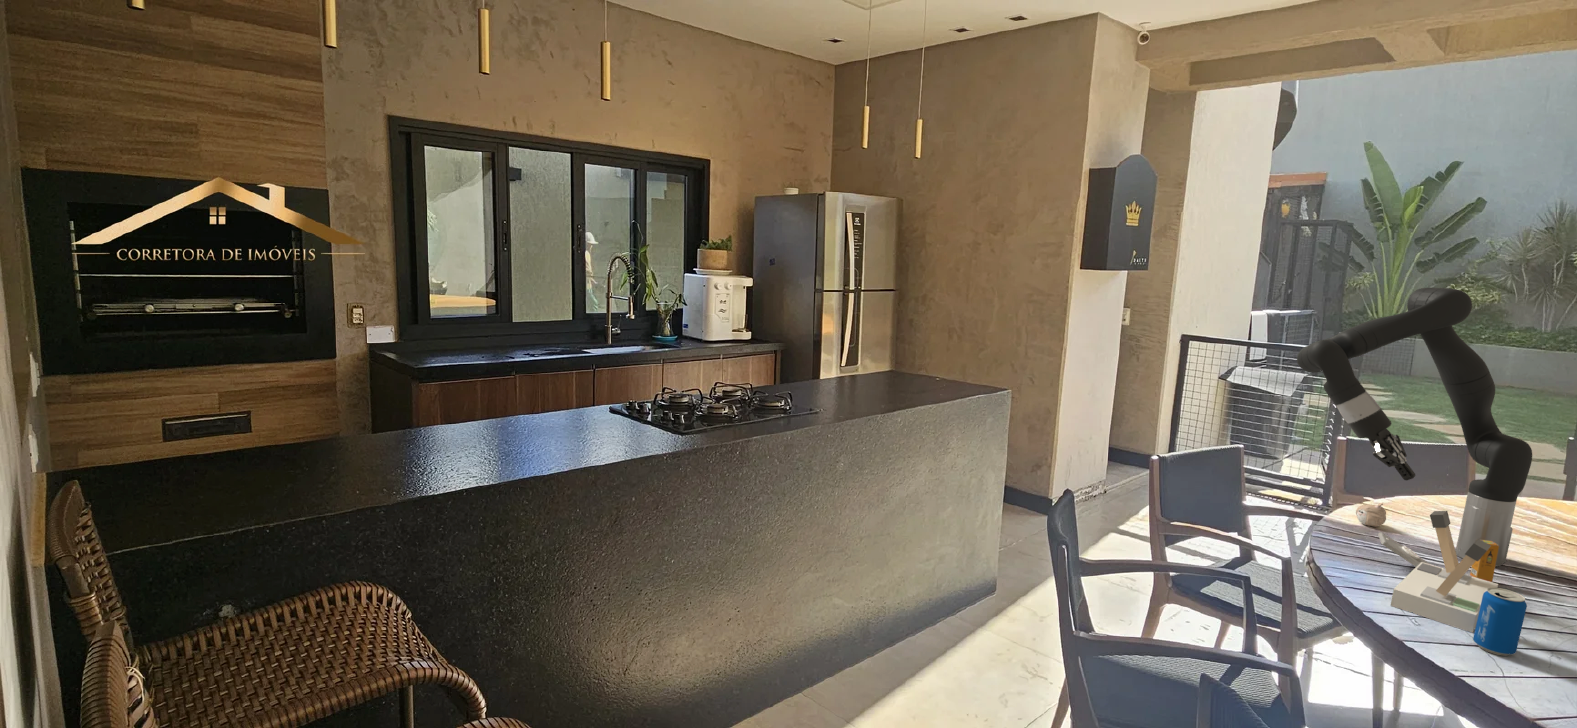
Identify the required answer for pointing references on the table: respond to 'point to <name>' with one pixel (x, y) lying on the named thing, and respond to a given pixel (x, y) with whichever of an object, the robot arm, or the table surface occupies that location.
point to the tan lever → (1464, 566)
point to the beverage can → (1500, 621)
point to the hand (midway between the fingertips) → (1410, 478)
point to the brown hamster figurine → (1371, 514)
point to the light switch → (1401, 550)
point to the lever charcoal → (1445, 539)
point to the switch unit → (1441, 596)
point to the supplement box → (1486, 563)
